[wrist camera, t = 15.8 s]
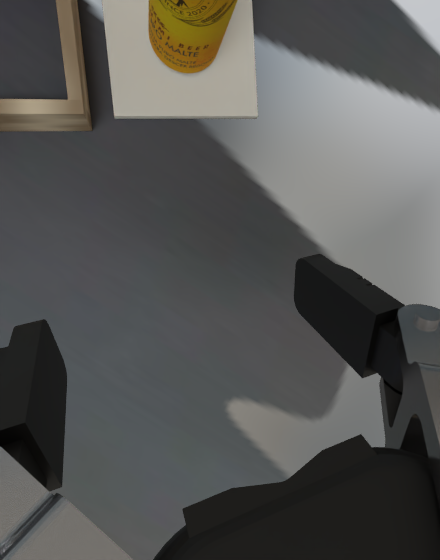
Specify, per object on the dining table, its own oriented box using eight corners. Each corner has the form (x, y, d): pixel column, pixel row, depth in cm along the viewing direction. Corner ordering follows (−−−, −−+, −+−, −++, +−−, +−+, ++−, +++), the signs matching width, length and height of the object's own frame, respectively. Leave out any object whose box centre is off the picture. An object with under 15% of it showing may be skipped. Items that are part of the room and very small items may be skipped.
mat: (114, 118, 29) (114, 116, 29) (97, -47, 28) (96, -54, 27) (256, 118, 32) (258, 116, 31) (247, -33, 30) (249, -38, 30)
